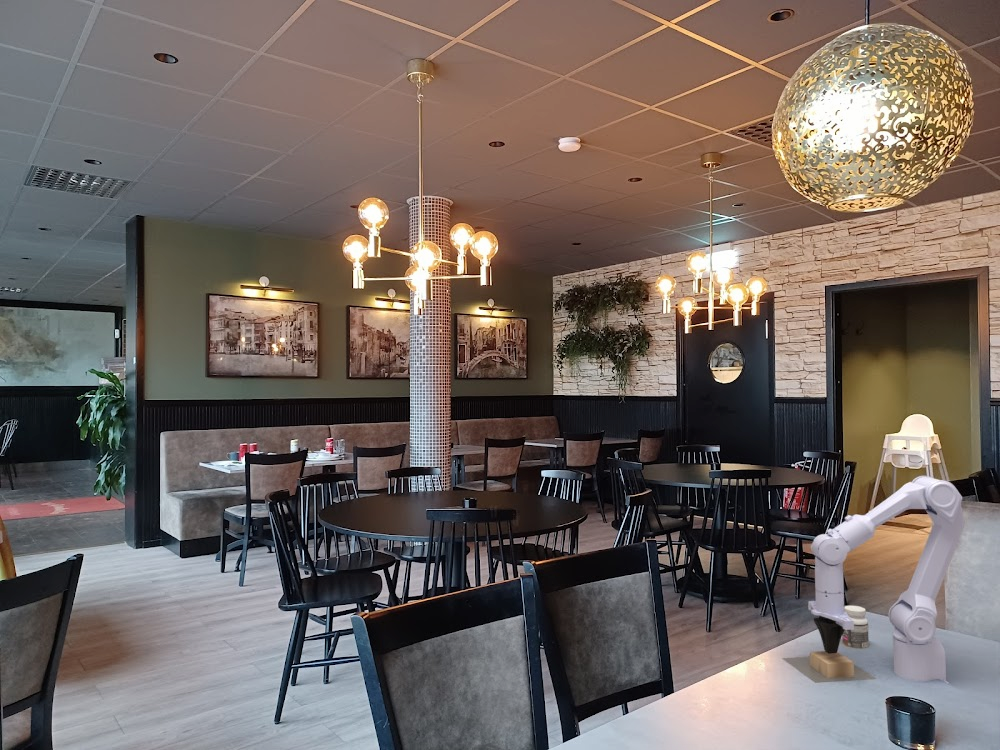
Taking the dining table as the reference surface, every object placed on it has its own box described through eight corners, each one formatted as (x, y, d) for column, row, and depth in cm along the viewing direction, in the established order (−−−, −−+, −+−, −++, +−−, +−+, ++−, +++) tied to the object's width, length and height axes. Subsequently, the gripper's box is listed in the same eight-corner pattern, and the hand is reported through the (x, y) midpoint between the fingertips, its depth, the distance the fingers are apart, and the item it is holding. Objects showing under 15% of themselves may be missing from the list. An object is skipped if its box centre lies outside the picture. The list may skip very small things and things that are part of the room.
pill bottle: (839, 644, 177) (838, 604, 177) (863, 645, 176) (862, 605, 176) (847, 653, 171) (846, 611, 171) (872, 654, 170) (871, 612, 171)
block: (834, 650, 161) (853, 662, 154) (835, 664, 161) (853, 676, 154) (809, 652, 161) (827, 663, 154) (810, 665, 161) (827, 677, 154)
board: (839, 660, 167) (838, 654, 167) (877, 684, 153) (877, 678, 153) (782, 663, 165) (782, 658, 165) (815, 688, 151) (815, 682, 151)
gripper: (795, 582, 165) (796, 641, 164) (831, 600, 150) (832, 665, 150) (824, 581, 165) (825, 640, 165) (862, 599, 151) (864, 663, 151)
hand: (831, 652), depth 158 cm, fingers closed
